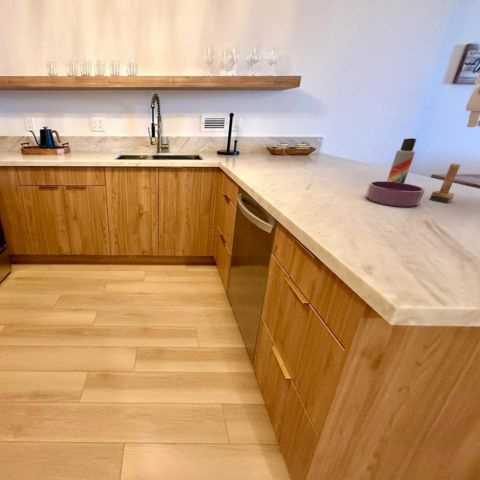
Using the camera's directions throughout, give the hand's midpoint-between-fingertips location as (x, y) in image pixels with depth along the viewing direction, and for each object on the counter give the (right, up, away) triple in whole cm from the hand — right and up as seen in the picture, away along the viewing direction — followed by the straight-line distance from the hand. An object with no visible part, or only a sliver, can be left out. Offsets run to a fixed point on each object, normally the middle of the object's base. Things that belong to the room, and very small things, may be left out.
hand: (476, 126), depth 92 cm
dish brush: (-1, -22, +11) cm, 25 cm away
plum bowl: (-19, -23, +11) cm, 31 cm away
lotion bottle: (-5, -15, +27) cm, 31 cm away
